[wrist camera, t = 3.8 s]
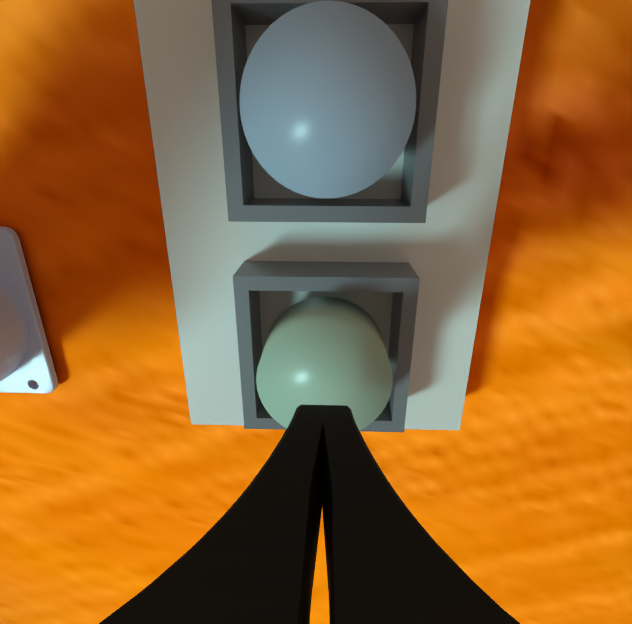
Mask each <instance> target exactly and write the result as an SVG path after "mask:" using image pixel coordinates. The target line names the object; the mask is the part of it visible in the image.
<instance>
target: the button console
mask: <svg viewBox="0 0 632 624" xmlns="http://www.w3.org/2000/svg"><path fill="white" fill-rule="evenodd" d="M133 1H134V8H135V15H136V23H137V30H138V37H139V45H140V52H141V59H142V67H143V74H144V81H145V89H146V96H147V103H148V111H149V118H150V125H151V133H152V140H153V147H154V155H155V162H156V169H157V177H158V184H159V191H160V199H161V206H162V213H163V221H164V228H165V235H166V243H167V250H168V257H169V265H170V272H171V279H172V287H173V294H174V301H175V309H176V316H177V323H178V331H179V338H180V345H181V353H182V360H183V367H184V375H185V382H186V390H187V397H188V404H189V412H190V419H191V424H209V425H244V428H245V429H287V428H285V427H283V426H282V425H281V424H279V423H278V422H277V421H276V420H275V419H273V418H272V417H271V415H270V414H269V413H268V412H267V410H266V409H265V407H264V406H263V404H262V402H261V400H260V397H259V394H258V391H257V384H256V374H257V368H258V365H259V362H260V359H261V356H262V353H263V350H264V346H265V343H266V340H267V337H268V334H269V331H270V329H271V327H272V325H273V324H274V322H275V321H276V319H277V318H278V317H279V316H280V315H281V314H282V313H283V312H284V311H285V310H286V309H287V308H289V307H291V306H292V305H294V304H296V303H298V302H300V301H303V300H306V299H309V298H315V297H335V298H340V299H343V300H346V301H349V302H351V303H354V304H356V305H357V306H359V307H360V308H362V309H363V310H364V311H366V312H367V313H368V314H369V315H370V316H371V317H372V318H373V320H374V321H375V323H376V324H377V326H378V328H379V330H380V332H381V335H382V338H383V341H384V345H385V349H386V352H387V356H388V359H389V363H390V367H391V371H392V390H391V395H390V398H389V401H388V403H387V405H386V407H385V408H384V410H383V411H382V413H381V414H380V415H379V416H378V417H377V418H376V419H375V420H374V421H373V422H372V423H371V424H370V425H368V426H367V427H365V428H364V429H362V430H360V431H375V432H404V429H428V430H460V425H461V418H462V412H463V406H464V400H465V394H466V388H467V382H468V376H469V370H470V364H471V358H472V352H473V346H474V340H475V334H476V328H477V322H478V315H479V309H480V303H481V297H482V291H483V285H484V279H485V273H486V267H487V261H488V255H489V249H490V243H491V237H492V231H493V225H494V219H495V212H496V206H497V200H498V194H499V188H500V182H501V176H502V170H503V164H504V158H505V152H506V146H507V140H508V134H509V128H510V122H511V116H512V110H513V103H514V97H515V91H516V85H517V79H518V73H519V67H520V61H521V55H522V49H523V43H524V37H525V31H526V25H527V19H528V13H529V7H530V0H133ZM317 1H341V2H346V3H350V4H354V5H356V6H359V7H361V8H363V9H366V10H367V11H369V12H371V13H372V14H374V15H376V16H377V17H378V18H379V19H381V20H382V21H383V22H384V23H385V24H386V25H387V26H388V27H389V28H390V29H391V30H392V31H393V32H394V33H395V35H396V36H397V38H398V39H399V41H400V42H401V44H402V45H403V47H404V49H405V51H406V53H407V55H408V58H409V61H410V64H411V66H412V70H413V74H414V79H415V86H416V111H415V118H414V123H413V126H412V130H411V134H410V136H409V139H408V141H407V144H406V146H405V148H404V149H403V151H402V153H401V155H400V156H399V158H398V159H397V161H396V162H395V164H394V165H393V166H392V167H391V168H390V169H389V171H388V172H387V173H386V174H385V175H384V176H382V177H381V178H380V179H379V180H378V181H377V182H375V183H374V184H372V185H371V186H369V187H367V188H365V189H363V190H361V191H359V192H357V193H354V194H351V195H348V196H344V197H339V198H328V199H325V198H314V197H309V196H305V195H302V194H299V193H296V192H294V191H292V190H290V189H288V188H286V187H285V186H283V185H282V184H280V183H279V182H277V181H276V180H275V179H274V178H273V177H272V176H270V175H269V174H268V173H267V172H266V171H265V169H264V168H263V167H262V166H261V165H260V163H259V162H258V160H257V159H256V157H255V156H254V154H253V152H252V150H251V148H250V146H249V144H248V142H247V139H246V136H245V134H244V130H243V126H242V122H241V115H240V87H241V80H242V76H243V72H244V68H245V65H246V63H247V60H248V57H249V55H250V53H251V51H252V49H253V47H254V45H255V44H256V42H257V41H258V40H259V38H260V37H261V35H262V34H263V33H264V32H265V31H266V30H267V28H268V27H269V26H270V25H271V24H272V23H274V22H275V21H276V20H277V19H278V18H280V17H281V16H282V15H284V14H286V13H287V12H289V11H291V10H292V9H295V8H297V7H299V6H302V5H304V4H308V3H312V2H317Z"/></svg>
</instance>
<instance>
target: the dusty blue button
mask: <svg viewBox="0 0 632 624" xmlns="http://www.w3.org/2000/svg"><path fill="white" fill-rule="evenodd" d="M415 111H416V86H415V79H414V74H413V70H412V66H411V64H410V61H409V58H408V55H407V53H406V51H405V49H404V47H403V45H402V44H401V42H400V41H399V39H398V38H397V36H396V35H395V33H394V32H393V31H392V30H391V29H390V28H389V27H388V26H387V25H386V24H385V23H384V22H383V21H382V20H381V19H379V18H378V17H377V16H376V15H374V14H372V13H371V12H369V11H367V10H366V9H363V8H361V7H359V6H356V5H354V4H350V3H346V2H341V1H317V2H312V3H308V4H304V5H302V6H299V7H297V8H295V9H292V10H291V11H289V12H287V13H286V14H284V15H282V16H281V17H280V18H278V19H277V20H276V21H275V22H274V23H272V24H271V25H270V26H269V27H268V28H267V30H266V31H265V32H264V33H263V34H262V35H261V37H260V38H259V40H258V41H257V42H256V44H255V45H254V47H253V49H252V51H251V53H250V55H249V57H248V60H247V63H246V65H245V68H244V72H243V76H242V80H241V87H240V115H241V122H242V126H243V130H244V134H245V136H246V139H247V142H248V144H249V146H250V148H251V150H252V152H253V154H254V156H255V157H256V159H257V160H258V162H259V163H260V165H261V166H262V167H263V168H264V169H265V171H266V172H267V173H268V174H269V175H270V176H272V177H273V178H274V179H275V180H276V181H277V182H279V183H280V184H282V185H283V186H285V187H286V188H288V189H290V190H292V191H294V192H296V193H299V194H302V195H305V196H309V197H314V198H325V199H328V198H339V197H344V196H348V195H351V194H354V193H357V192H359V191H361V190H363V189H365V188H367V187H369V186H371V185H372V184H374V183H375V182H377V181H378V180H379V179H380V178H381V177H382V176H384V175H385V174H386V173H387V172H388V171H389V169H390V168H391V167H392V166H393V165H394V164H395V162H396V161H397V159H398V158H399V156H400V155H401V153H402V151H403V149H404V148H405V146H406V144H407V141H408V139H409V136H410V134H411V130H412V126H413V123H414V118H415Z"/></svg>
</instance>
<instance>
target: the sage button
mask: <svg viewBox="0 0 632 624" xmlns="http://www.w3.org/2000/svg"><path fill="white" fill-rule="evenodd" d="M256 384H257V391H258V394H259V397H260V400H261V402H262V404H263V406H264V407H265V409H266V410H267V412H268V413H269V414H270V415H271V417H272V418H273V419H275V420H276V421H277V422H278V423H279V424H281V425H282V426H283V427H285V428H288V426H289V424H290V422H291V420H292V418H293V415H294V413H295V410H296V408H297V407H298V406H299V405H345V406H348V407H349V408H350V409H351V411H352V414H353V417H354V420H355V422H356V425H357V427H358V429H359V431H360V430H362V429H364V428H365V427H367V426H368V425H370V424H371V423H372V422H373V421H374V420H375V419H376V418H377V417H378V416H379V415H380V414H381V413H382V411H383V410H384V408H385V407H386V405H387V403H388V401H389V398H390V395H391V390H392V371H391V367H390V363H389V359H388V356H387V352H386V349H385V345H384V341H383V338H382V335H381V332H380V330H379V328H378V326H377V324H376V323H375V321H374V320H373V318H372V317H371V316H370V315H369V314H368V313H367V312H366V311H364V310H363V309H362V308H360V307H359V306H357V305H356V304H354V303H351V302H349V301H346V300H343V299H340V298H335V297H315V298H309V299H306V300H303V301H300V302H298V303H296V304H294V305H292V306H291V307H289V308H287V309H286V310H285V311H284V312H283V313H282V314H281V315H280V316H279V317H278V318H277V319H276V321H275V322H274V324H273V325H272V327H271V329H270V331H269V334H268V337H267V340H266V343H265V346H264V350H263V353H262V356H261V359H260V362H259V365H258V368H257V374H256Z"/></svg>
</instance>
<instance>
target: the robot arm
mask: <svg viewBox="0 0 632 624" xmlns="http://www.w3.org/2000/svg"><path fill="white" fill-rule="evenodd" d="M33 380H34V381H36V382H37V383H38V385H37V384H36V383H35V382H34V381H33ZM57 386H58V379H57V376H56V372H55V368H54V365H53V361H52V357H51V354H50V350H49V346H48V343H47V339H46V335H45V332H44V328H43V324H42V321H41V317H40V313H39V310H38V306H37V302H36V299H35V295H34V291H33V287H32V284H31V280H30V276H29V273H28V269H27V265H26V262H25V258H24V254H23V251H22V247H21V243H20V240H19V237H18V235H17V233H16V232H15V231H14V230H13V229H11V228H9V227H5V226H0V392H8V393H51V392H52V391H53V390H55V389H56V388H57ZM322 508H323V522H324V535H325V549H326V562H327V576H328V589H329V611H330V624H520V623H519V622H518V621H516V620H515V619H514V618H513V617H512V616H510V615H509V614H508V613H507V612H506V611H504V610H503V609H502V608H501V607H500V606H499V605H498V604H497V603H496V602H495V601H493V600H492V599H491V598H490V597H489V596H488V595H487V594H486V593H485V592H484V591H483V590H482V589H481V588H480V587H479V586H478V585H476V584H475V583H474V582H473V581H472V580H471V579H470V578H469V577H468V576H467V574H466V573H465V572H464V571H463V570H462V569H461V568H460V567H459V566H458V565H457V564H456V563H455V562H454V561H453V560H452V559H451V558H450V557H449V556H448V555H447V554H446V553H445V552H444V551H443V550H442V548H441V547H440V546H439V545H438V544H437V543H436V542H435V541H434V540H433V539H432V537H431V536H430V535H429V534H428V533H427V532H426V530H425V529H424V528H423V527H422V526H421V525H420V523H419V522H418V521H417V520H416V518H415V517H414V516H413V515H412V513H411V512H410V511H409V510H408V508H407V507H406V506H405V504H404V503H403V502H402V500H401V499H400V498H399V496H398V495H397V493H396V492H395V491H394V489H393V488H392V486H391V485H390V483H389V482H388V480H387V479H386V477H385V476H384V474H383V472H382V471H381V469H380V468H379V466H378V464H377V463H376V461H375V459H374V458H373V456H372V454H371V452H370V451H369V449H368V447H367V445H366V443H365V441H364V439H363V437H362V435H361V433H360V431H359V429H358V427H357V425H356V422H355V420H354V417H353V414H352V411H351V409H350V408H349V407H348V406H345V405H299V406H298V407H297V408H296V410H295V413H294V415H293V418H292V420H291V422H290V424H289V426H288V428H287V429H286V431H285V433H284V435H283V437H282V438H281V440H280V441H279V443H278V445H277V446H276V448H275V449H274V451H273V453H272V454H271V456H270V457H269V459H268V460H267V462H266V463H265V464H264V466H263V467H262V469H261V470H260V471H259V473H258V474H257V475H256V477H255V478H254V480H253V481H252V482H251V484H250V485H249V486H248V487H247V489H246V490H245V491H244V492H243V494H242V495H241V496H240V497H239V498H238V500H237V501H236V502H235V503H234V504H233V505H232V506H231V508H230V509H229V510H228V511H227V512H226V513H225V514H224V515H223V517H222V518H221V519H220V520H219V521H218V522H217V523H216V524H215V525H214V526H213V527H212V528H211V529H210V530H209V531H208V532H207V533H206V534H205V535H204V536H203V537H202V538H201V539H200V540H199V541H198V542H197V543H196V544H195V545H194V546H193V547H192V548H191V549H190V550H189V551H188V552H186V553H185V554H184V555H183V556H182V557H181V558H180V559H178V560H177V561H176V562H175V563H174V564H173V565H172V566H170V567H169V568H168V569H167V570H166V571H165V572H164V573H162V574H161V575H160V576H159V577H158V578H157V579H156V580H154V581H153V582H152V583H151V584H150V585H149V586H147V587H146V588H145V589H144V590H142V591H141V592H140V593H139V594H137V595H136V596H135V597H133V598H132V599H131V600H130V601H128V602H127V603H126V604H124V605H123V606H122V607H120V608H119V609H118V610H116V611H115V612H114V613H112V614H111V615H110V616H108V617H107V618H106V619H104V620H103V621H102V622H100V623H99V624H309V623H310V608H311V595H312V587H313V578H314V570H315V561H316V553H317V545H318V536H319V528H320V519H321V511H322Z"/></svg>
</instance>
